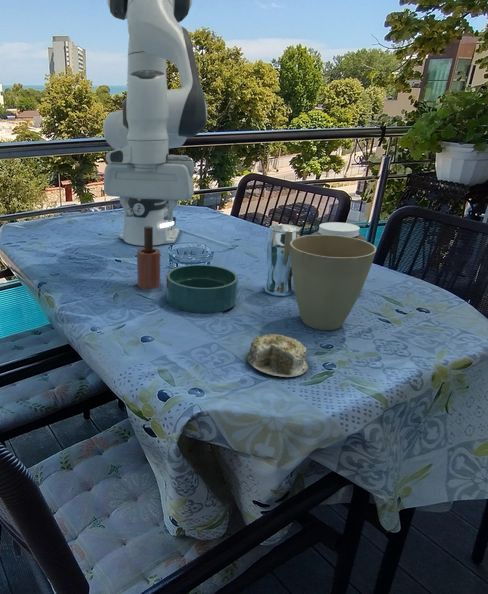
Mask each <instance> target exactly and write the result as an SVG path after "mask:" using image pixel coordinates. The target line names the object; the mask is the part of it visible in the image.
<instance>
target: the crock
mask: <svg viewBox="0 0 488 594" xmlns="http://www.w3.org/2000/svg"><path fill="white" fill-rule="evenodd" d="M136 270H137V272H136V273H137V279H136V280H137V287H138V288H140V289H142V290H154V289H158V288H160V287H161V250H160V249H159V248H156V247H153V253H144V247H141V248H138V249H137V250H136Z"/></svg>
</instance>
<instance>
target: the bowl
mask: <svg viewBox="0 0 488 594" xmlns="http://www.w3.org/2000/svg"><path fill="white" fill-rule="evenodd" d="M238 286H239V276H238V274H237V273H236V272H234V271H233V270H231V269H229V268H226V267H223V266H218V265H211V264H187V265H181V266H178V267H174V268H172V269H171V270H169V271H168V272H167V274H166V301H167V303H168V304H169V305H170V306H171V307H173V308H175V309H177V310H180V311H184V312H188V313H194V314H215V313H220V312H224V311H227V310H230V309H232V308H234V307H235V305H236V304H237V300H238Z"/></svg>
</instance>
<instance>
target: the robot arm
mask: <svg viewBox="0 0 488 594" xmlns="http://www.w3.org/2000/svg"><path fill="white" fill-rule="evenodd" d="M106 3H107V6H108V9H109V13H110V14H111V15H112V16H113V17H114V18H115V19H118V20H121V21H125V20H126V24H127V30H128V31H127V32H128V35H129V36H128V43H127V45H128V46H127V72H126V73H127V78H126V82H127V86H126V87H127V88H126V89H127V90H126V97H125V98H124V99H123V100H122V104H121V105H122V109H119V110H116V111H112V112H109V113H108V114H107V115H106V117H105V118H104V121H103V123H102V134H103V137H104V139H105V141H106V143H107V144H108V145H109V146H110V147H111V148H113V149H114V150H111V151H109V152H107V153H106V154H105V161H106V162H107V164H106V165H105V168H104V171H103V172H104V173H103V191H104V193H105V194H106V196H108V197H118V198H119V199H118V201H119V203H120V205H121V207H122V208H123V211H124V212H123V221H122V233H119V235H118V236H119V239H120V240H123V241H124V242H125V243H126V244H129V245H132V246H140V247H142V246H143V247H144V227H146V226H151V227H153V246H159V245H165V244H166V245H167V244H174V243H175V242H176V240H177V239H178V237H179V234H180V233H181V232H180V230H181V229H180V228H177V227H175V226H176V223H177V222H176V218H177V217H176V216H173V213H174V211H175V209H176V207H177V206H178V203H179V201H181V202H187V201H189V200H190V199H192V198H193V196H194V194H195V185H194V184H195V183H194V174H195V168H196V167H195V161H194V159H192V157H189V155H187V154H180V155H179V154H178V155H177V154H170V152H169V151H170V149H175V148H179V147H182V146H183V145H185V142H186V141H187V139H188V138H194V137H195V136H197V135H198V134H199V133H200V132H201V131H202V130H204V129H205V127H206V125H207V120H208V105H207V101H206V99H205V95H204V91H203V89H202V86H201V85H202V84H201V81H200V76H199V71H198V66H197V62H196V57H195V52H194V48H193V43H192V40H191V37H190V34H189V31H188V28H187V29H186V27H184V26H182V25H181V24H180V23H181V22H183V20H184V19H185V18H186V17H187V16H188V14H189V12H190V10H191V7H192V4H193V0H106ZM168 61H169V62H170V63H172V64H173V65H175V66H176V68H177V71H178V76H179V82H180V87H181V88H178V89H168V88H169V87H168V79H167V78H168V77H167V65H168V64H167V62H168ZM167 201H168V205H169V208H167Z"/></svg>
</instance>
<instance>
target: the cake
mask: <svg viewBox="0 0 488 594" xmlns="http://www.w3.org/2000/svg"><path fill="white" fill-rule="evenodd" d="M306 357H307V347H306V346H304V344H302V343H301V341H299V340H297V339H295V338H292V337H290V336H286V335H282V334H275V333H273V334H270V333H269V334H263V335H259V336H256V338H254V339H253V340H252V342H251V343H250V348H249V352H247V354H246V361H247V363H248V364H249V365H250V366H251V367H253V368H254V369H255V370H258V371H259V372H261V373H264V374H267V375H271V376H276V377H277V376H278V377H285V378H292V377H298V376H301V375H303V374H305V373H306V372H307V371H308V369H309V366H308V362H307V361H306Z"/></svg>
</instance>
